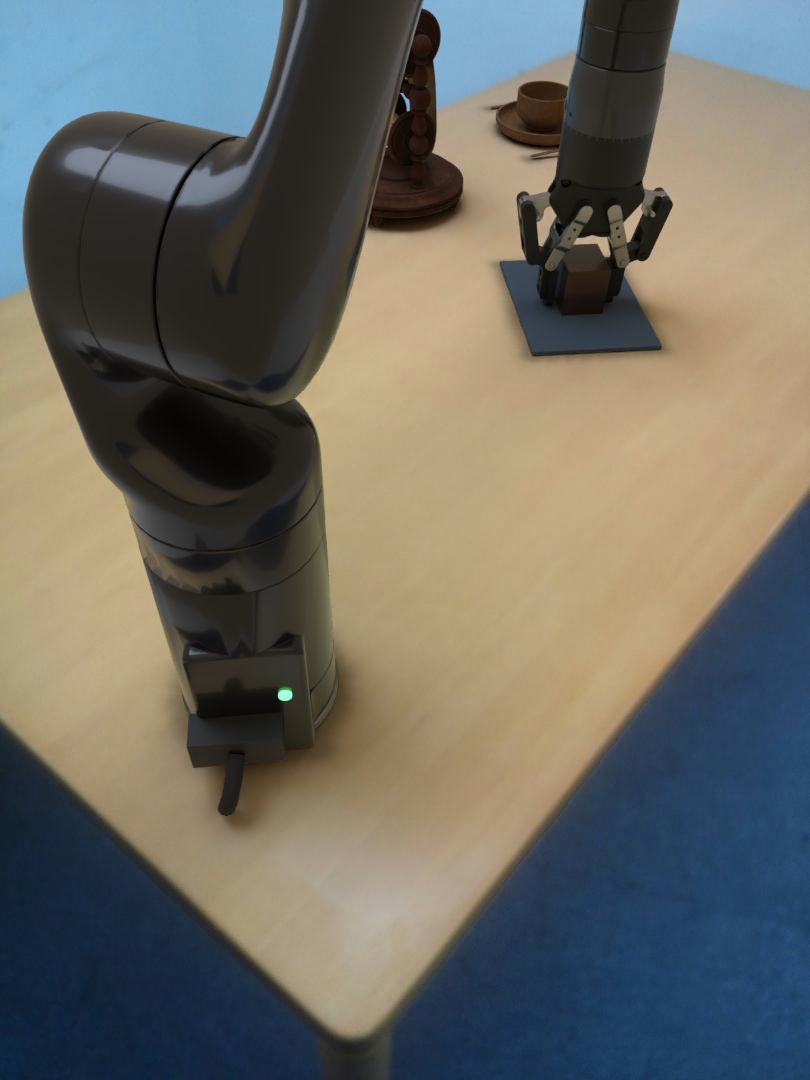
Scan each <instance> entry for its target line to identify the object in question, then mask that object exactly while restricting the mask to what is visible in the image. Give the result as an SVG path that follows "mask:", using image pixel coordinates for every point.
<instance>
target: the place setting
mask: <svg viewBox="0 0 810 1080" xmlns="http://www.w3.org/2000/svg"><path fill="white" fill-rule="evenodd" d="M567 91H568V85H566V84H564V83H561V82H556V81H551V80H534V81H528V82H526V83H522V84H521V85H519V87H518V89H517V96H516V97H517V98H516V100H513V101H509V102H507V103H504V104H499V105H493V106H490V107H489V108H490V109H497V110H496V111H495V112H496V113H495V122H496V125H497V128H498V129H499V130H500V131H501V132H502V133H503V135H506V136H507V137H508V138H510V139H512V140H514V141H517V142H519V143H523V144H526V145H531V146H541V147H552V146H553V147H554V146H559V145H560V139H561V132H562V125H563V118H564V102H565V99H566V96H567ZM558 152H559V148H557V149H551V150H547V151H542V152H537V153H534V154H531V155H529V157H530V158H536V157H537V158H538V157H541V156H547V155H551V154H555V153H558Z"/></svg>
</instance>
